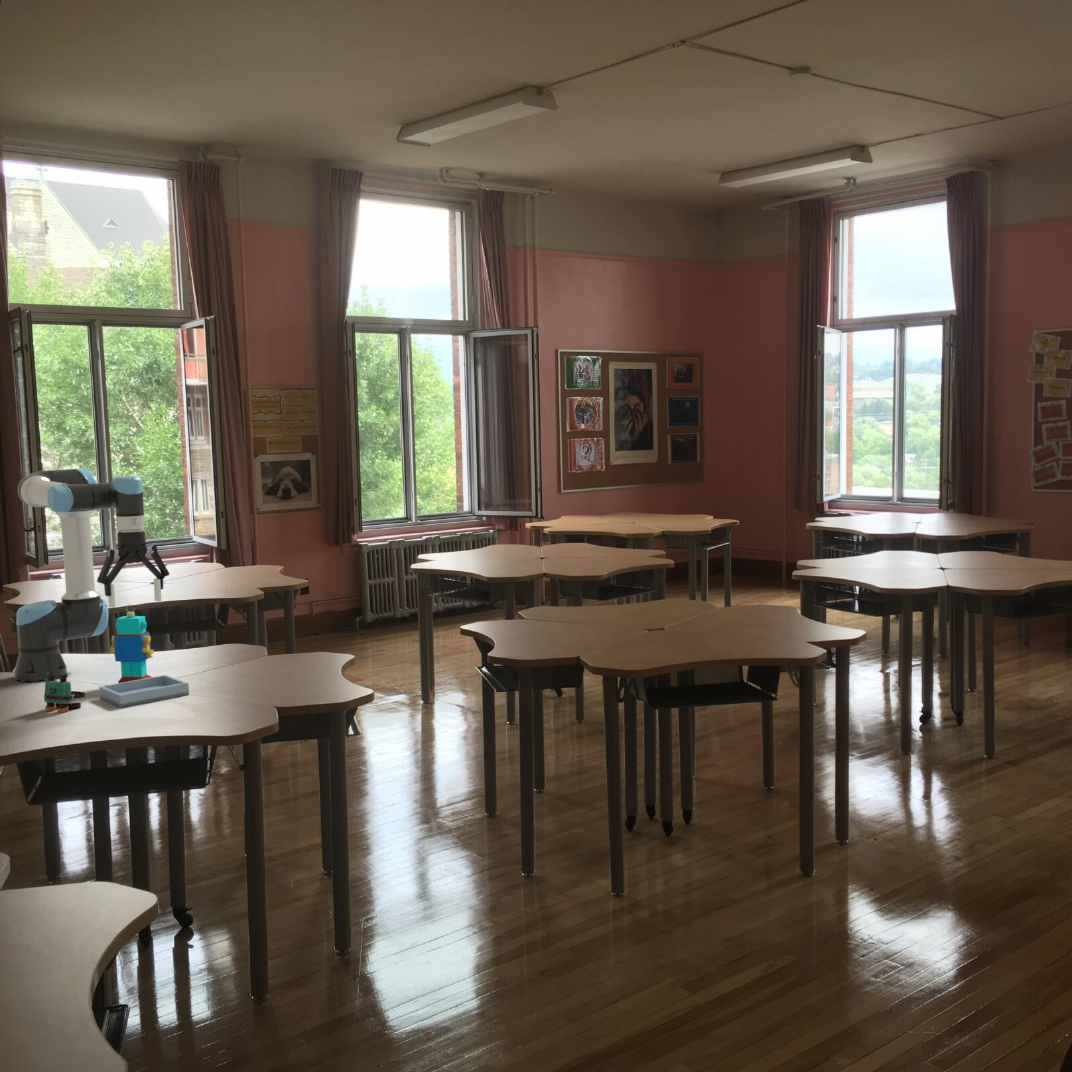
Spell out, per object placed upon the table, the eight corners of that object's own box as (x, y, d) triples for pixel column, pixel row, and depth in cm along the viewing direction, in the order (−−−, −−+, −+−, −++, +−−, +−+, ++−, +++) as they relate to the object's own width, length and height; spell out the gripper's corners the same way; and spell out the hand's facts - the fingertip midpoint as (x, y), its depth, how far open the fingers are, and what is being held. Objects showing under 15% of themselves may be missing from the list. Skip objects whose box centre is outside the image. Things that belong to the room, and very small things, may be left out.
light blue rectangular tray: (99, 698, 312) (99, 686, 312) (166, 686, 326) (165, 674, 326) (120, 707, 302) (120, 695, 301) (189, 694, 315) (188, 682, 315)
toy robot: (158, 682, 331) (153, 601, 328) (149, 687, 325) (144, 605, 322) (121, 682, 332) (116, 602, 329) (112, 687, 326) (107, 605, 323)
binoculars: (90, 671, 305) (62, 675, 296) (89, 708, 305) (62, 713, 296) (66, 668, 308) (38, 673, 299) (65, 705, 308) (37, 711, 299)
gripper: (92, 535, 298) (97, 611, 300) (178, 527, 315) (182, 599, 317) (81, 533, 303) (86, 608, 305) (166, 526, 320) (170, 597, 323)
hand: (135, 604), depth 311 cm, fingers open, 13 cm apart
